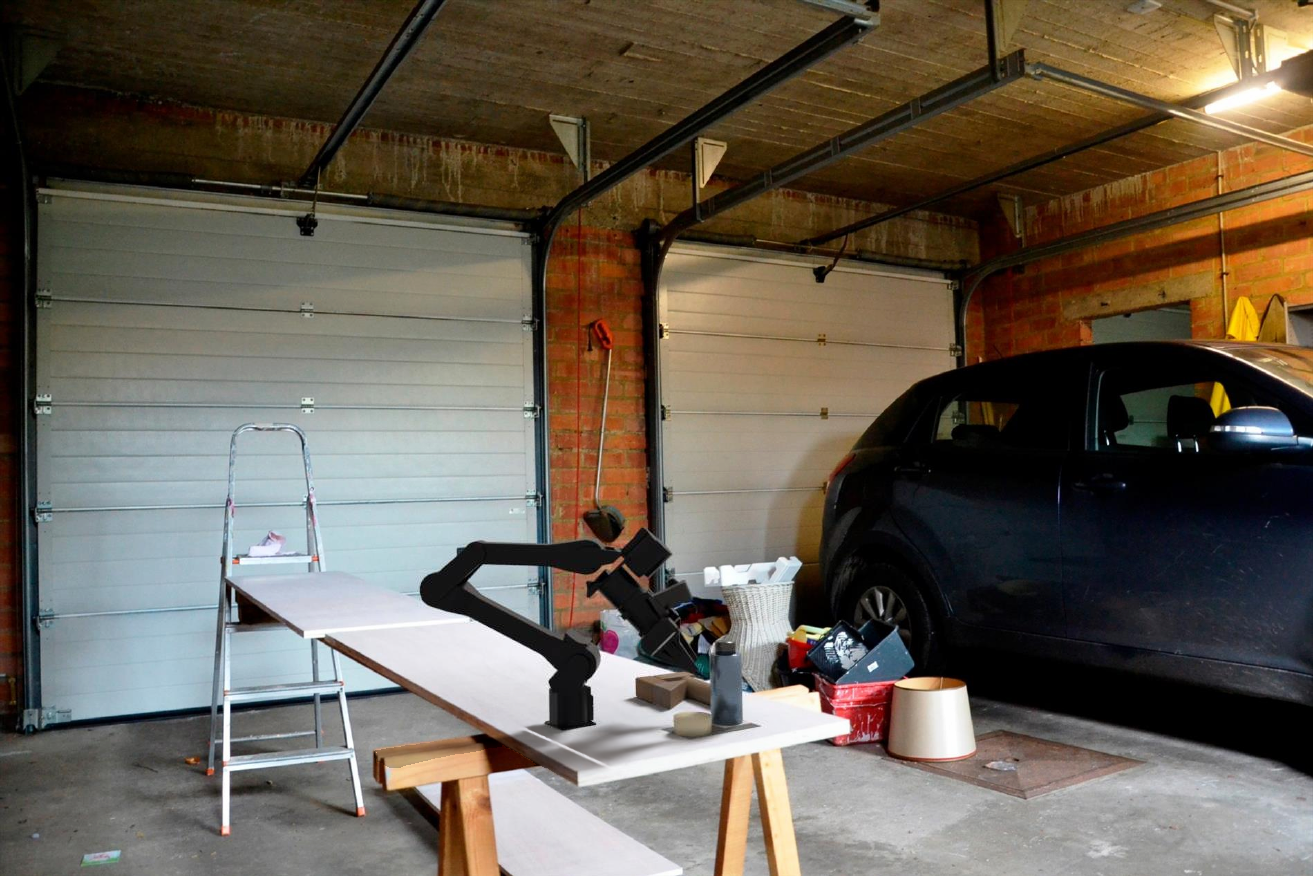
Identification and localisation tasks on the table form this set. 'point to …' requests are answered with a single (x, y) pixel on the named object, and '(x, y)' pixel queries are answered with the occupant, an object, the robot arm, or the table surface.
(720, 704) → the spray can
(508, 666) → the table surface
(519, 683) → the table surface
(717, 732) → the mat
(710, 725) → the beige round puck
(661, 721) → the table surface
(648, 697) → the wooden block
